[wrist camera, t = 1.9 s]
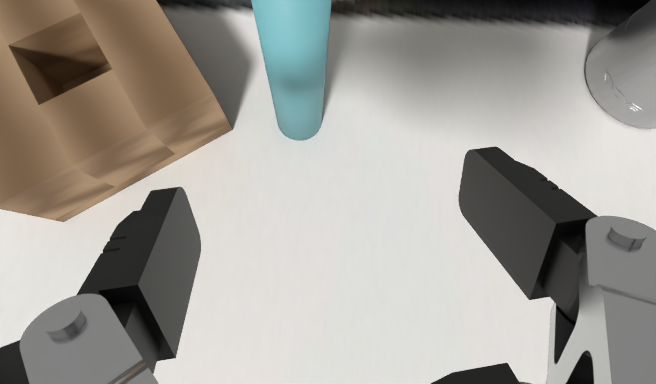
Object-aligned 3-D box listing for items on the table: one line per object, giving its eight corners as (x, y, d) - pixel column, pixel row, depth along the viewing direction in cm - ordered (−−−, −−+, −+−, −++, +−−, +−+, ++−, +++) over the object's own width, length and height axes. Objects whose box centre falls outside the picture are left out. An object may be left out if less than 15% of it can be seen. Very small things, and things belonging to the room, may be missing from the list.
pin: (306, 91, 29) (304, -87, 15) (330, 126, 29) (351, -24, 14) (269, 112, 29) (227, -53, 14) (292, 148, 28) (273, 15, 14)
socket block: (152, -2, 31) (115, -66, 25) (232, 129, 28) (212, 92, 22) (-10, 73, 28) (-93, 22, 22) (63, 221, 26) (-8, 207, 20)
